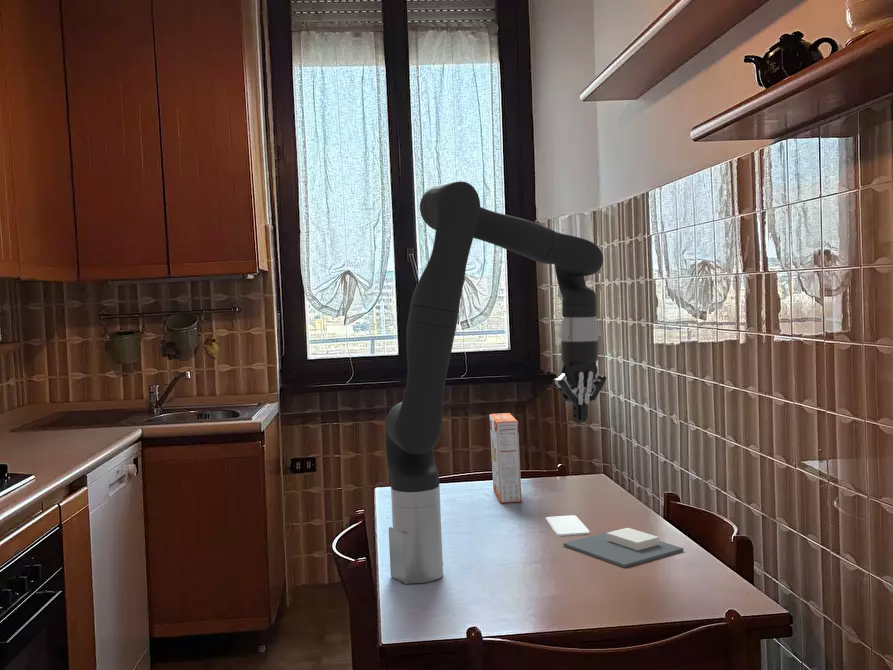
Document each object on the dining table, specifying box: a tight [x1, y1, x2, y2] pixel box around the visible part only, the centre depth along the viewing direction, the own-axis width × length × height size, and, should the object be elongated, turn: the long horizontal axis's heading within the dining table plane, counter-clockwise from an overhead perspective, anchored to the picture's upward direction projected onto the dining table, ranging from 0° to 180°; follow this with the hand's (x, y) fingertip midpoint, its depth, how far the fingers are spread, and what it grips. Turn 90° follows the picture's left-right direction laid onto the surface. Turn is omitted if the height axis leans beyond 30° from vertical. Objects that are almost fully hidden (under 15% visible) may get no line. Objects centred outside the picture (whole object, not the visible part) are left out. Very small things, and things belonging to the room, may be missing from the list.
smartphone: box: [545, 514, 591, 537], centre depth 194 cm, size 7×1×15 cm
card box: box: [605, 527, 660, 551], centre depth 177 cm, size 2×9×6 cm
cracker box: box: [489, 412, 523, 504], centre depth 222 cm, size 14×6×21 cm, turn 4°
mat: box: [562, 528, 684, 569], centre depth 175 cm, size 16×18×1 cm
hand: (580, 422), depth 179 cm, fingers closed
